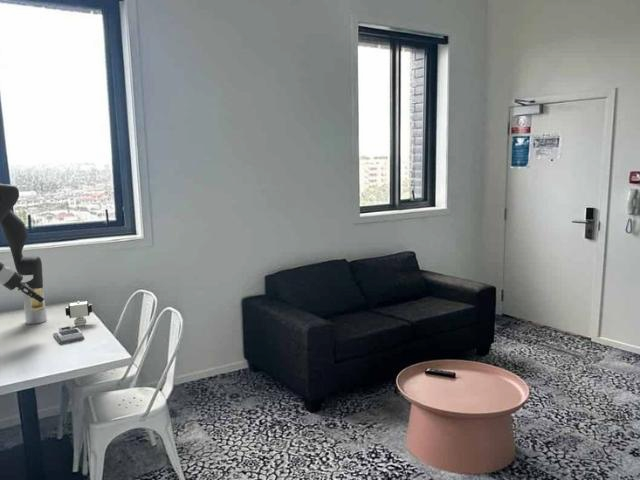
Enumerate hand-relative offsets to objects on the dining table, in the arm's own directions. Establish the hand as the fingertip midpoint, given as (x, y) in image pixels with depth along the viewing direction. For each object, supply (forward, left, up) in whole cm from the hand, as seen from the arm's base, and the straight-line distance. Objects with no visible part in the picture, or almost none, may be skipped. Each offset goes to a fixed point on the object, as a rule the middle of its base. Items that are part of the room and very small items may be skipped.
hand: (41, 299), depth 236 cm
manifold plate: (+8, +8, -18) cm, 21 cm away
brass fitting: (0, -2, -4) cm, 5 cm away
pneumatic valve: (-10, +17, -18) cm, 27 cm away
